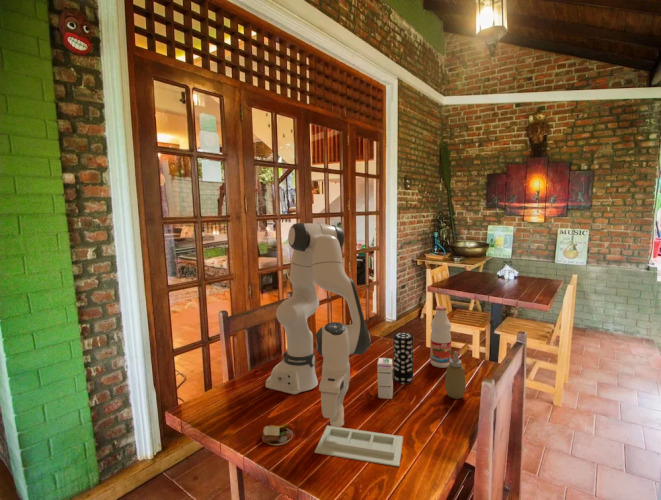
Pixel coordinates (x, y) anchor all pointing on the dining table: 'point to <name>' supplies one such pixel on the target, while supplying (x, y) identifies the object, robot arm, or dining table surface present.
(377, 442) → the egg tray
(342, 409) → the egg
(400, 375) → the white-spotted black cylinder
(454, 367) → the squeeze bottle
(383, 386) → the syrup box
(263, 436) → the toy sandwich meal
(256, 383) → the dining table surface
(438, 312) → the fruit juice
